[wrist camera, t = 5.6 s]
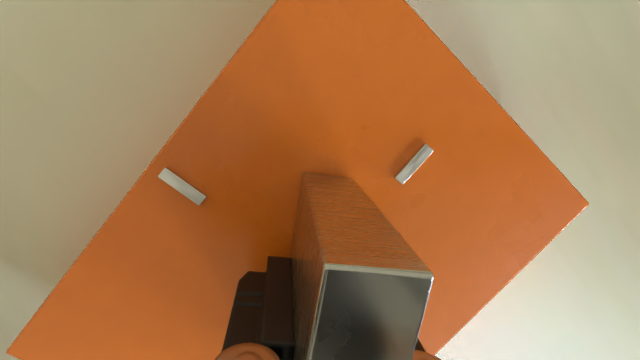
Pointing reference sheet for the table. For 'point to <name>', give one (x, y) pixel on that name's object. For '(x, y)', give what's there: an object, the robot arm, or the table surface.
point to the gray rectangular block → (352, 276)
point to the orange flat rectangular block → (284, 183)
